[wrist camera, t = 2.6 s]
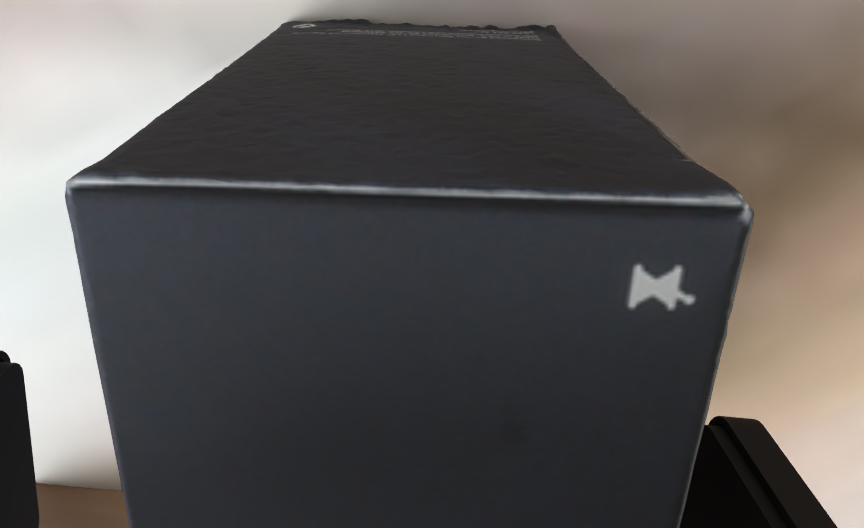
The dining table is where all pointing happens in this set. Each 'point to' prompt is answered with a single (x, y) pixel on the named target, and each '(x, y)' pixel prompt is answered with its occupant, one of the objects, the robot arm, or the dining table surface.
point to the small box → (406, 290)
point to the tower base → (80, 507)
